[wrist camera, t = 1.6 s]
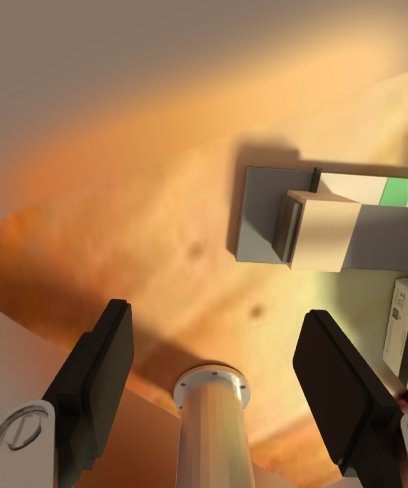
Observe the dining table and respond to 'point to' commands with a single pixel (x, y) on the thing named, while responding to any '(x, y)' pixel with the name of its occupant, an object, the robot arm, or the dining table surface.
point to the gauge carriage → (314, 228)
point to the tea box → (398, 333)
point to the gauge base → (347, 185)
